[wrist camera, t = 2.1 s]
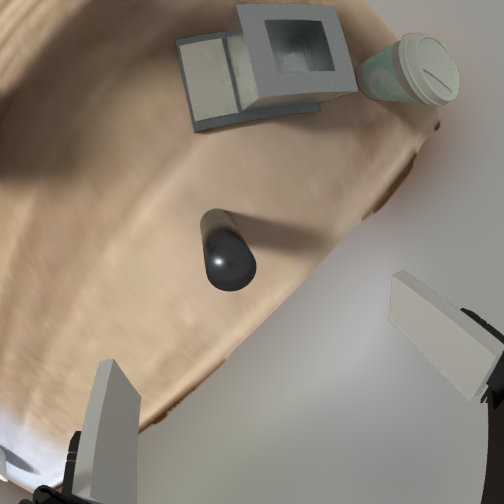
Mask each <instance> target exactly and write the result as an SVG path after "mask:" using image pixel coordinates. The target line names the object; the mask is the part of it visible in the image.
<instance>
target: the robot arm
mask: <svg viewBox="0 0 504 504" xmlns="http://www.w3.org/2000/svg"><path fill="white" fill-rule="evenodd" d="M389 321H390V322H391V323H392V324H393V325H394V326H395V327H396V328H397V329H398V330H399V331H401V333H402V334H403V335H404V336H405V337H406V338H408V339H409V340H410V341H411V342H412V343H413V344H414V345H415V346H416V347H417V348H418V349H419V350H420V351H421V352H422V353H423V354H424V355H425V356H426V357H427V358H428V359H429V360H430V361H431V362H432V363H433V365H434V366H436V368H437V369H438V370H439V371H440V372H441V373H442V374H443V375H444V376H445V377H446V378H447V379H448V380H449V381H450V382H451V383H452V384H453V385H454V386H455V387H456V388H457V390H458V391H459V392H460V393H461V394H462V395H463V396H464V397H465V398H466V399H467V400H468V402H471V401H472V400H473V399H474V398H475V397H476V396H478V395H479V393H481V391H482V389H483V388H484V386H485V384H487V385H488V386H489V387H488V388H487V390H486V392H485V393H484V395H483V396H482V398H481V403H483V402H484V400H485V399H486V397H487V399H486V402H485V403H488V425H489V426H488V454H487V466H486V475H485V482H484V489H483V495H482V500H481V504H504V336H503V335H502V334H501V333H500V332H499V331H497V330H496V329H495V328H494V327H492V326H491V325H490V324H487V322H486V321H485V320H483V319H481V318H480V317H479V316H478V315H477V314H475V313H474V312H472V311H470V310H467V309H464V308H462V309H458V308H457V307H455V306H454V305H453V304H451V303H450V302H448V301H447V300H446V299H444V298H443V297H442V296H440V295H439V294H438V293H436V292H435V291H433V290H432V289H430V288H429V287H428V286H426V285H425V284H423V283H422V282H420V281H419V280H417V279H416V278H415V277H413V276H412V275H410V274H409V273H407V272H406V271H404V270H403V271H401V272H398V273H396V274H394V275H392V287H391V301H390V311H389ZM140 403H141V396H140V395H139V393H138V392H137V391H136V390H135V388H134V387H133V386H132V384H131V383H130V381H129V380H128V379H127V377H126V376H125V375H124V373H123V372H122V370H121V369H120V367H119V366H118V364H117V363H116V361H115V360H114V359H109V360H104V361H100V363H99V366H98V369H97V373H96V376H95V380H94V383H93V387H92V390H91V394H90V398H89V402H88V406H87V410H86V414H85V418H84V423H83V427H82V431H76V432H75V434H74V435H73V437H72V439H71V440H70V445H69V450H68V452H69V454H68V455H67V462H66V466H65V472H64V479H63V486H62V492H61V493H59V492H58V491H56V490H54V489H53V488H51V487H49V486H47V485H41V486H39V487H38V488H37V489H36V490H35V491H34V494H33V502H31V501H30V500H28V499H23V500H21V501H20V503H19V504H137V445H138V429H139V415H140Z"/></svg>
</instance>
